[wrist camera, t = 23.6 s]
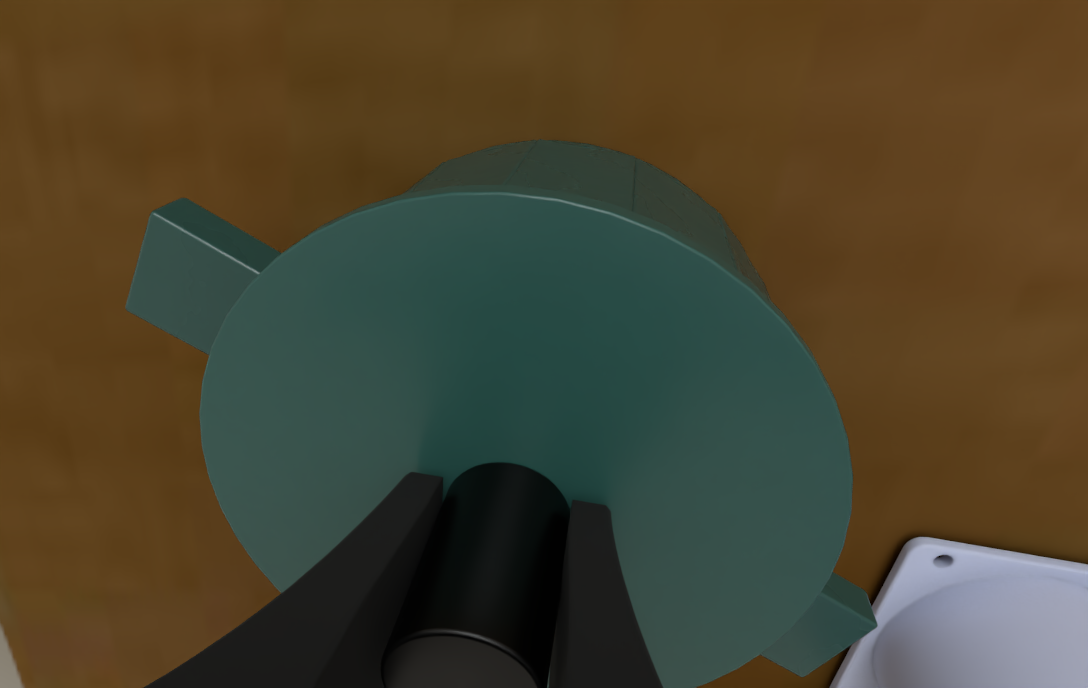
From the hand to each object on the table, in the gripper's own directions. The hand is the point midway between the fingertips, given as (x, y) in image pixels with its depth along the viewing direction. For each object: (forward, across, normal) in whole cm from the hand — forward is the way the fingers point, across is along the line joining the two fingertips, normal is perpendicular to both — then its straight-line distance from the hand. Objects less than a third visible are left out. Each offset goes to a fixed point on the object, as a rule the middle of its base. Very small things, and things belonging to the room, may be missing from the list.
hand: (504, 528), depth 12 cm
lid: (+1, 0, 0) cm, 1 cm away
